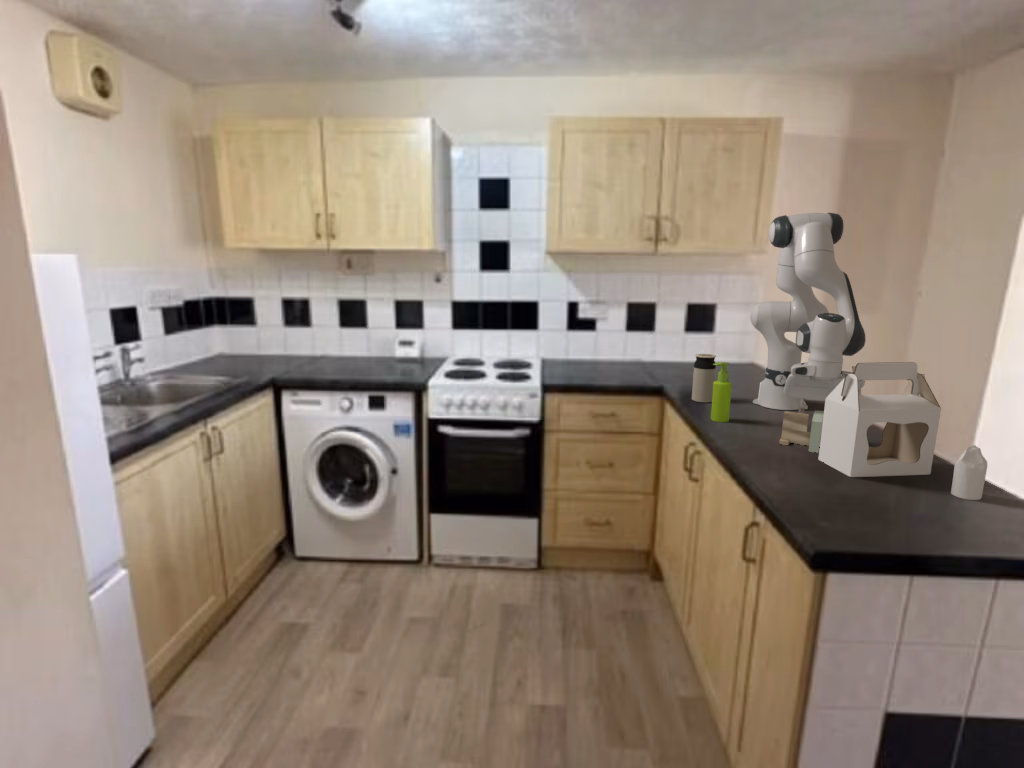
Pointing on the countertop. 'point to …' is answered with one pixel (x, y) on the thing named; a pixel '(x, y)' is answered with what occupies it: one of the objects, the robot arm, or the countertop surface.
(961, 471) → the white plastic bottle
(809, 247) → the robot arm
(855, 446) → the gable box
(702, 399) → the travel mug
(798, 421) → the wooden peg bench
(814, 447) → the grey-green rectangular slab
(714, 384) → the soap dispenser
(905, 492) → the countertop surface
